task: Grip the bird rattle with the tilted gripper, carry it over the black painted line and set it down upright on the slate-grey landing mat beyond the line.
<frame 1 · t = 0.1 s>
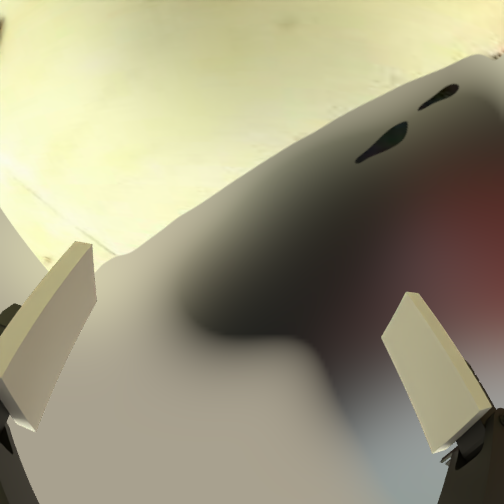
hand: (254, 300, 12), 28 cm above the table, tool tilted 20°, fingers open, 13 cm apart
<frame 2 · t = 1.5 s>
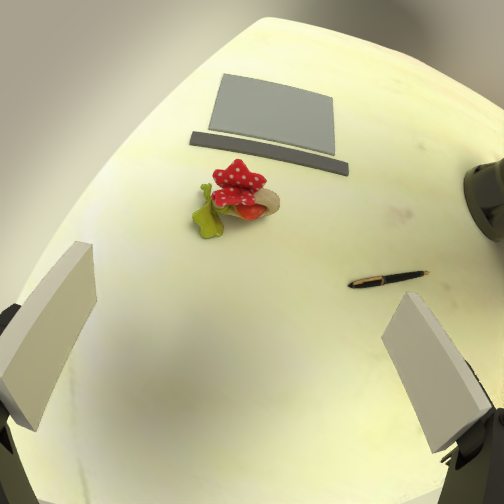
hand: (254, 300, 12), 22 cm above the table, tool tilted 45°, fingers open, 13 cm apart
bird rattle: (231, 215, 37), on the table
fountain pen: (390, 279, 38), on the table
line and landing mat: (275, 120, 42), on the table
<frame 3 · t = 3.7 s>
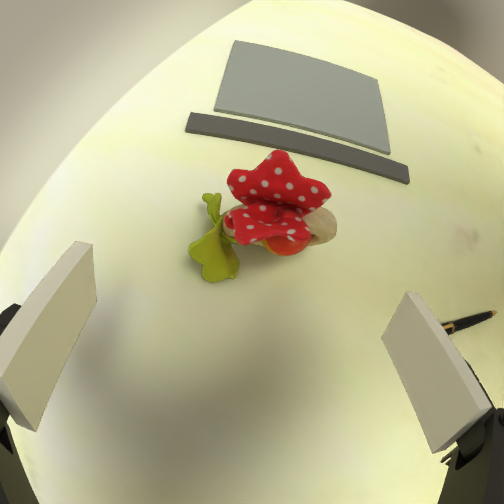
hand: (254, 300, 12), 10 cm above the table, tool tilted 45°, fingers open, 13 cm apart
bird rattle: (251, 243, 24), on the table
fountain pen: (457, 324, 25), on the table
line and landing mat: (308, 102, 28), on the table
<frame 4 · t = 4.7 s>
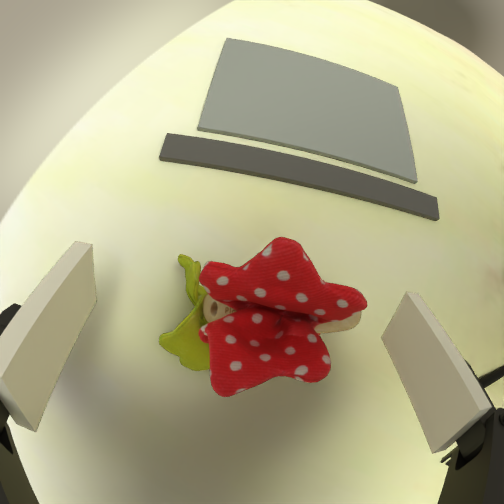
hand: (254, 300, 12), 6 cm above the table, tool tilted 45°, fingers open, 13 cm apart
bird rattle: (245, 313, 18), on the table
fountain pen: (479, 380, 20), on the table
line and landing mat: (318, 116, 23), on the table
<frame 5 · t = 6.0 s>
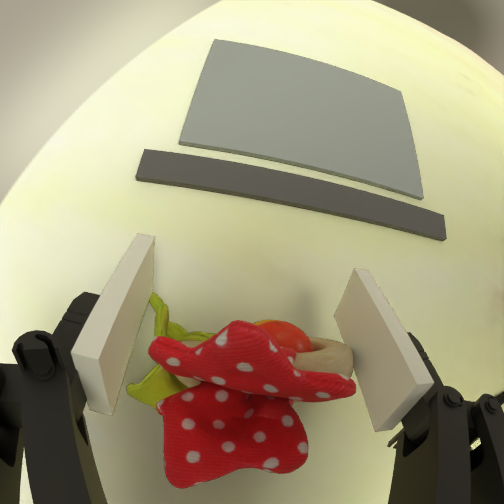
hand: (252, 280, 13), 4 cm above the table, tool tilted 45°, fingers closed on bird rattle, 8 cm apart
bird rattle: (225, 352, 16), on the table, touching gripper
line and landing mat: (315, 125, 21), on the table
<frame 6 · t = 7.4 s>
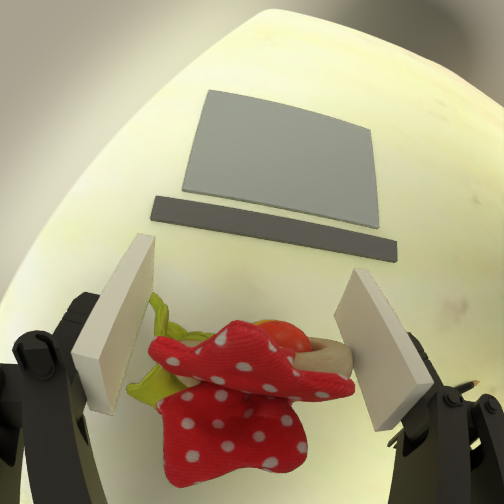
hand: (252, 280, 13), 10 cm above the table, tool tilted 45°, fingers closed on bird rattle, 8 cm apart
bird rattle: (225, 352, 16), point 6 cm above the table, touching gripper
fountain pen: (435, 397, 24), on the table
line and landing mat: (290, 170, 27), on the table
when the fingers open (5 cm above the table, at t = 12.0 s): bird rattle drops 1 cm, resting on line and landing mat.
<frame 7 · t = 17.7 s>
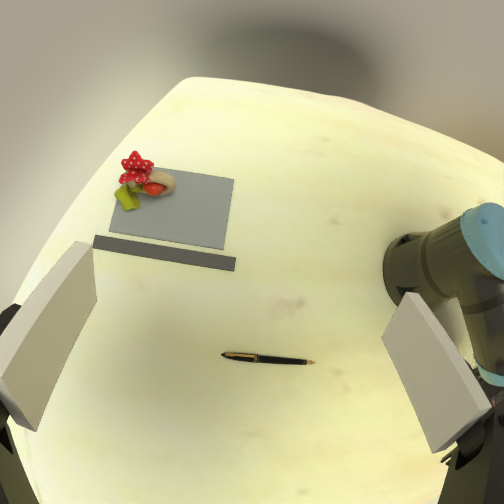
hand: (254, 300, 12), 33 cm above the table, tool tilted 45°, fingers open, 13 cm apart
bird rattle: (148, 194, 46), resting on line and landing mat
fountain pen: (268, 359, 43), on the table
portable cd player: (481, 399, 48), on the table
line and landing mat: (169, 216, 46), on the table
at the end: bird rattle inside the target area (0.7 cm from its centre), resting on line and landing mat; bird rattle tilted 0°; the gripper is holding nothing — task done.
